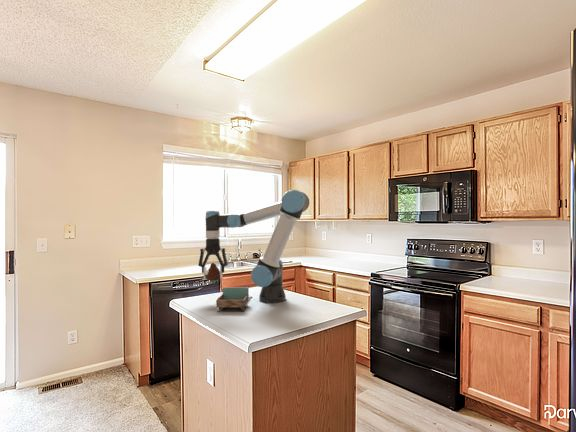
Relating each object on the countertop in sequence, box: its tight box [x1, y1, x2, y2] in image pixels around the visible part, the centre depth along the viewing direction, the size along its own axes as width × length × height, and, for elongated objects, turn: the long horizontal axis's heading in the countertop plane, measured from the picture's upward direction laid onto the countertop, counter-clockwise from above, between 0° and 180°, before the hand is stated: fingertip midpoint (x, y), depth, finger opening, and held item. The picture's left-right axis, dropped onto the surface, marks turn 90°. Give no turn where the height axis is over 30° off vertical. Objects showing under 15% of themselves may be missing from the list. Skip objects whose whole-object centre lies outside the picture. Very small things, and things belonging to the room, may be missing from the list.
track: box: [217, 296, 253, 313], centre depth 180 cm, size 13×32×1 cm, turn 178°
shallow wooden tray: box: [215, 287, 250, 310], centre depth 171 cm, size 14×14×9 cm
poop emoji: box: [205, 262, 221, 281], centre depth 185 cm, size 10×8×9 cm
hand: (213, 278), depth 185 cm, fingers closed on poop emoji, 8 cm apart
